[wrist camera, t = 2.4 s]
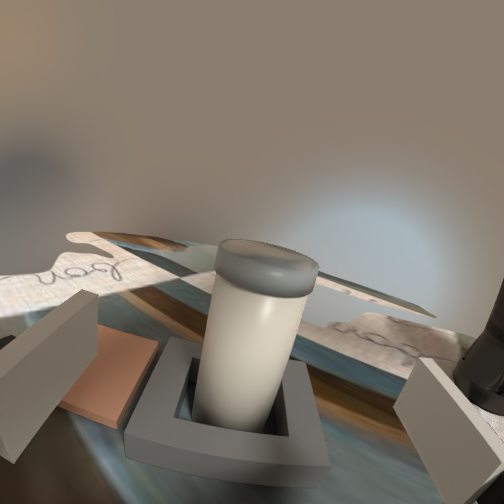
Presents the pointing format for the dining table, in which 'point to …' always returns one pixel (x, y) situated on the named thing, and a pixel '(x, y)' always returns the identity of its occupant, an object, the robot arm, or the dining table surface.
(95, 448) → the dining table surface
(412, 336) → the dining table surface
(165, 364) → the frame
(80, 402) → the rubber mat
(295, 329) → the filter cartridge
